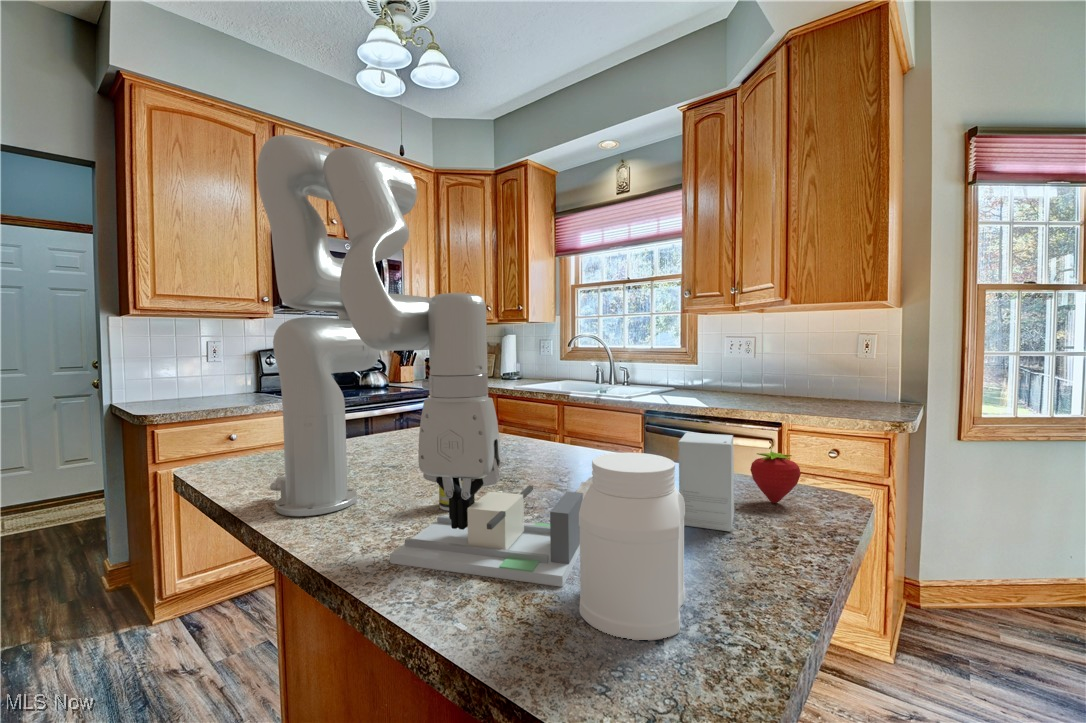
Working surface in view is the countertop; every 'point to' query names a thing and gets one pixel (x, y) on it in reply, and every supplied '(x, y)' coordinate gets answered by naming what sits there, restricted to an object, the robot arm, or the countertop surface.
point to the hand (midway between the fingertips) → (462, 525)
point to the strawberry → (775, 475)
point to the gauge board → (529, 559)
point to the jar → (632, 547)
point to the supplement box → (707, 480)
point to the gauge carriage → (497, 519)
